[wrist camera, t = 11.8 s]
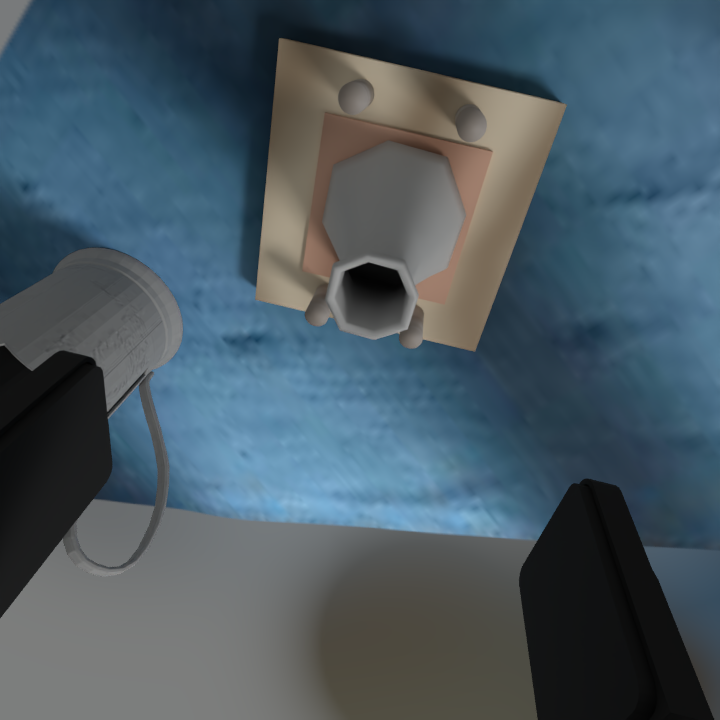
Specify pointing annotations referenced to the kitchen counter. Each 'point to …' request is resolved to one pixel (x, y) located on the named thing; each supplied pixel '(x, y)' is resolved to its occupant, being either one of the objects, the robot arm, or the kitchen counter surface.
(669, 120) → the kitchen counter surface
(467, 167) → the four-post base plate
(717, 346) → the kitchen counter surface
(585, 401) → the kitchen counter surface
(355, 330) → the flask
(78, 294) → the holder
